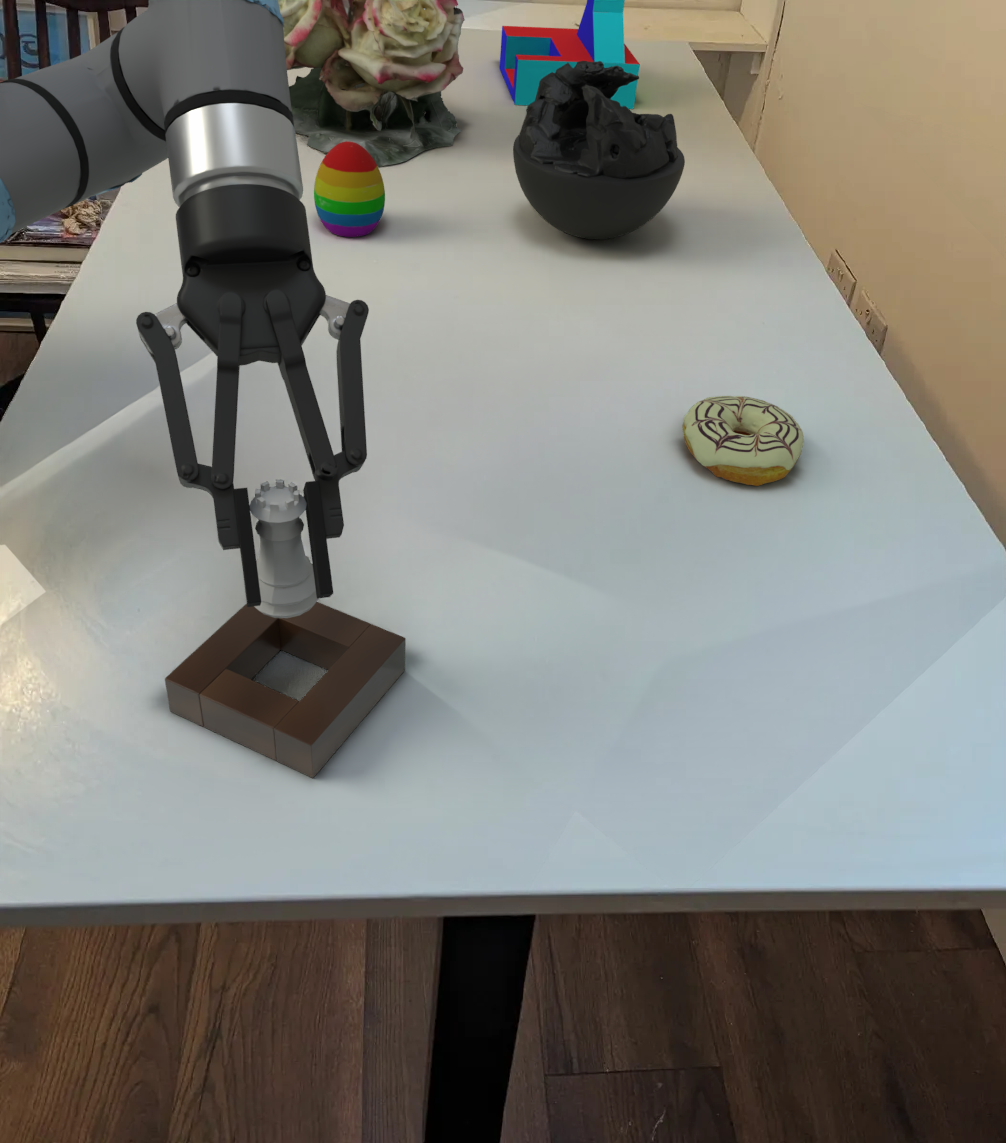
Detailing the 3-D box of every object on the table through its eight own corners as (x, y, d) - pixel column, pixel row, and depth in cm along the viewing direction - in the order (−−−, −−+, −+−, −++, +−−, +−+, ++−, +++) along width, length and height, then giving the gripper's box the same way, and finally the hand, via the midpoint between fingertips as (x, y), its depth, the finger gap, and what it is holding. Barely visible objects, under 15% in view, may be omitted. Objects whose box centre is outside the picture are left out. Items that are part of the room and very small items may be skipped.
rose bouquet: (237, 124, 158) (218, -124, 139) (401, 93, 174) (404, -134, 155) (346, 182, 144) (341, -85, 125) (513, 142, 160) (531, -100, 141)
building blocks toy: (602, 62, 195) (616, -57, 183) (633, 108, 176) (651, -21, 164) (495, 58, 192) (502, -63, 181) (514, 105, 173) (524, -27, 162)
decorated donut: (688, 487, 96) (695, 450, 93) (672, 421, 104) (678, 385, 102) (808, 493, 96) (819, 456, 94) (783, 426, 105) (792, 391, 102)
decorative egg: (325, 245, 129) (322, 157, 122) (307, 217, 134) (304, 132, 128) (393, 239, 131) (394, 153, 125) (373, 212, 137) (373, 128, 131)
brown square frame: (169, 711, 72) (163, 678, 70) (271, 614, 80) (269, 581, 78) (313, 778, 69) (311, 745, 67) (405, 670, 76) (405, 637, 75)
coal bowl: (583, 189, 148) (601, 36, 136) (704, 240, 137) (734, 79, 125) (473, 224, 136) (481, 60, 124) (595, 283, 126) (617, 110, 114)
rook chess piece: (309, 627, 67) (302, 520, 62) (237, 615, 68) (225, 508, 63) (330, 581, 71) (326, 476, 66) (262, 569, 71) (252, 464, 66)
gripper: (371, 225, 72) (419, 588, 70) (101, 237, 68) (146, 622, 66) (386, 172, 64) (441, 576, 63) (85, 182, 60) (135, 613, 59)
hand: (289, 599), depth 64 cm, fingers closed on rook chess piece, 3 cm apart
